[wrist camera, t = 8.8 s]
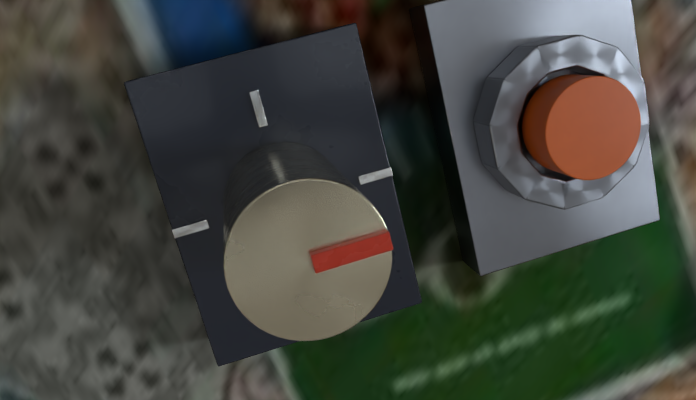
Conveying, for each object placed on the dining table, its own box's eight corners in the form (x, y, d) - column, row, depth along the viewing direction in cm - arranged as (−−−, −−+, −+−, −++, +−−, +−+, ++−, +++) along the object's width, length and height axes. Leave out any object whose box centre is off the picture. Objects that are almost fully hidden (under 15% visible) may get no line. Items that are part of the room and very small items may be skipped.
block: (408, 8, 28) (437, 1, 25) (597, -40, 30) (653, -54, 26) (463, 261, 31) (496, 290, 28) (632, 209, 33) (686, 230, 29)
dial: (243, 273, 26) (251, 368, 18) (207, 160, 25) (200, 209, 17) (356, 239, 27) (412, 316, 19) (326, 127, 26) (373, 159, 18)
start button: (513, 88, 26) (537, 91, 24) (604, 63, 27) (634, 63, 25) (530, 182, 27) (554, 192, 25) (617, 157, 28) (647, 164, 26)
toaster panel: (133, 79, 27) (122, 82, 24) (342, 25, 28) (357, 22, 25) (218, 337, 30) (217, 369, 27) (404, 280, 31) (423, 304, 28)
